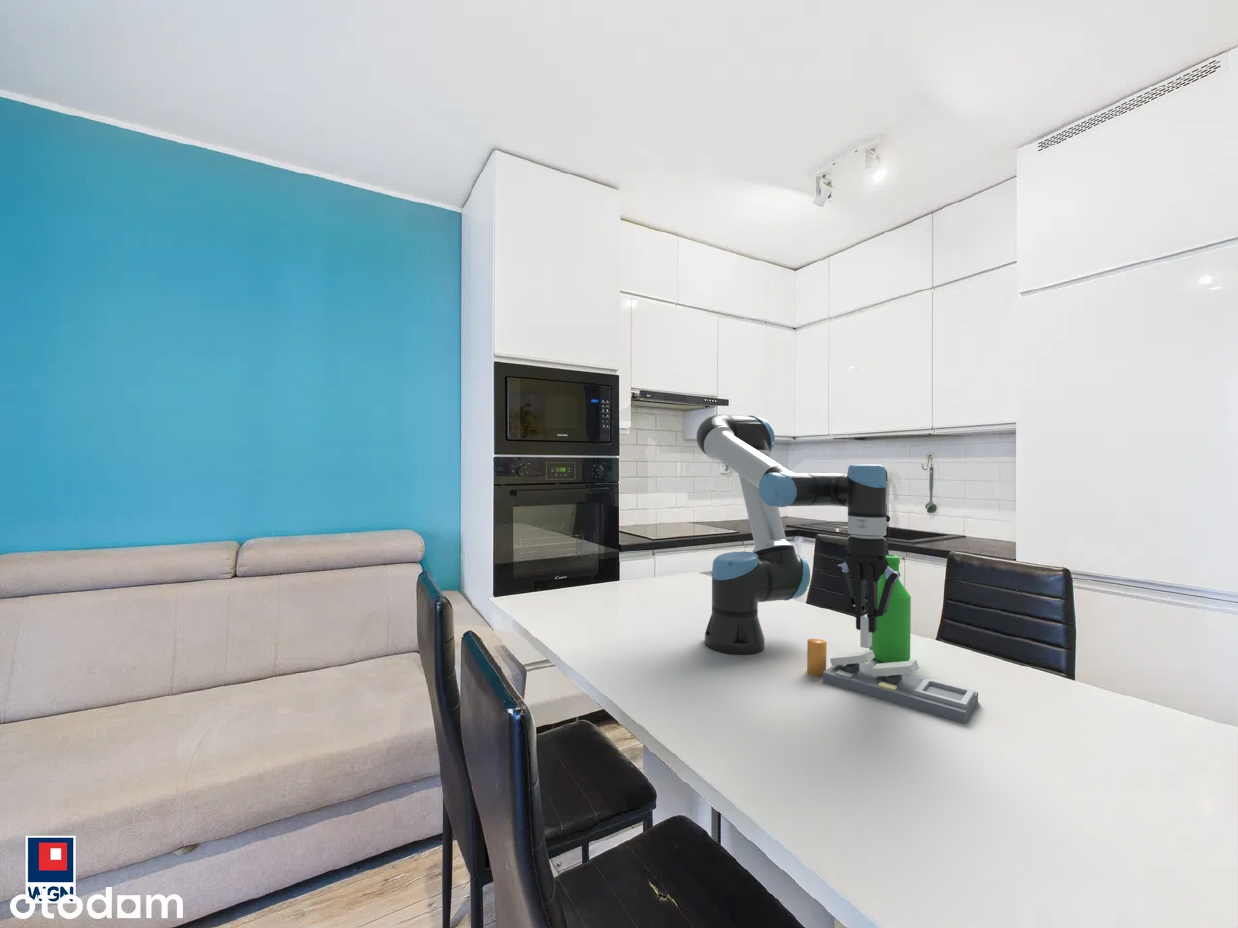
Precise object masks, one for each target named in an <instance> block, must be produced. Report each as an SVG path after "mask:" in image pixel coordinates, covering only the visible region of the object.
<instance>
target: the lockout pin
mask: <svg viewBox="0 0 1238 928" xmlns="http://www.w3.org/2000/svg"><path fill="white" fill-rule="evenodd" d="M806 644H807V646H806V647H807V651H806V654H807V655H806V656H807V657H806V660H807V662H806V663H807V665H806V667H807V668H806V671H807V674H809V675H811V676H814V677H823V672H824V671H825V670H827V641H826V640H824V639H820V638H809V639H807V643H806Z"/></svg>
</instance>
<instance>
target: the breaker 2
mask: <svg viewBox="0 0 1238 928" xmlns="http://www.w3.org/2000/svg"><path fill="white" fill-rule="evenodd" d="M917 661H918V660H916V659H915V660H914V659H913V660H909V661H902V662H891V663H884V662H881V663H876V664H875V665H873V666H874V667H873V668H871V669H870V670H871V673H872V675H873V677H876V676H889V675H903V674H909V675H914V673H915V672H916V671H918V669H920V666H919V663H918V662H917Z"/></svg>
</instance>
